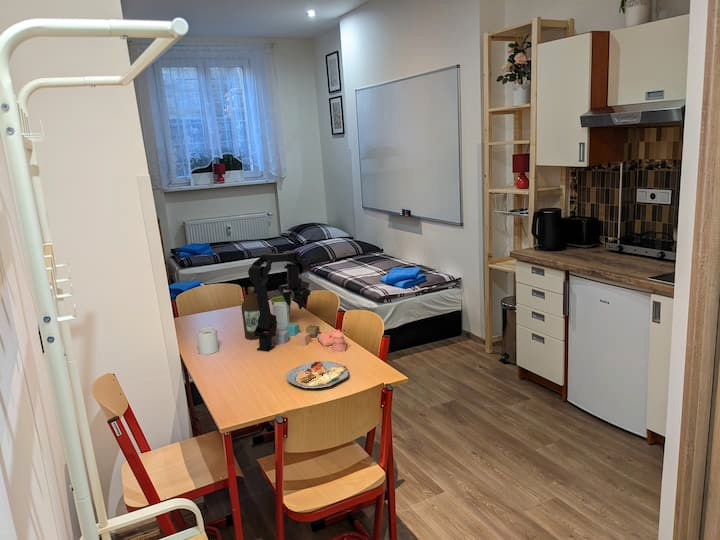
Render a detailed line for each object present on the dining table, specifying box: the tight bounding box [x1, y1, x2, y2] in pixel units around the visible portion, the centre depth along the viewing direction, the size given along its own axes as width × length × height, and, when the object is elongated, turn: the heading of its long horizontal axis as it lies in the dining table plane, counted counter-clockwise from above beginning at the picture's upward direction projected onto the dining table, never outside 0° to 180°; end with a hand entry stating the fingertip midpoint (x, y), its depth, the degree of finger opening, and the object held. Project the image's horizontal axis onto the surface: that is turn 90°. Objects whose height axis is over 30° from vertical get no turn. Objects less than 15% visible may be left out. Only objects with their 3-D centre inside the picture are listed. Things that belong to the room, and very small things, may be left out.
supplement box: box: [272, 302, 291, 330], centre depth 284 cm, size 7×7×13 cm
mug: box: [196, 327, 220, 355], centre depth 255 cm, size 11×10×10 cm
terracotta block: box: [294, 331, 311, 347], centre depth 259 cm, size 5×5×5 cm
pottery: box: [317, 329, 347, 353], centre depth 254 cm, size 18×10×10 cm, turn 24°
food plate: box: [285, 360, 350, 389], centre depth 221 cm, size 25×23×4 cm
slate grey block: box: [274, 329, 290, 345], centre depth 263 cm, size 5×5×5 cm
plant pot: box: [269, 295, 293, 319], centre depth 297 cm, size 12×12×11 cm
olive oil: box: [241, 286, 264, 341], centre depth 269 cm, size 11×11×25 cm
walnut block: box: [305, 324, 321, 339], centre depth 269 cm, size 5×5×5 cm
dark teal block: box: [285, 322, 301, 337], centre depth 273 cm, size 5×5×5 cm
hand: (294, 307), depth 271 cm, fingers open, 9 cm apart
